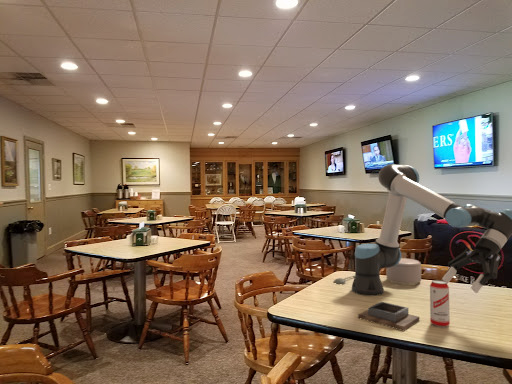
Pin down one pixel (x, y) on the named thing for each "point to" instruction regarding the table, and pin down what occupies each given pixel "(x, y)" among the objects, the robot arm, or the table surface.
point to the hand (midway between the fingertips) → (458, 285)
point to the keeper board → (400, 324)
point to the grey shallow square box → (396, 316)
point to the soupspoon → (341, 280)
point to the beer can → (439, 303)
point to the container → (405, 272)
